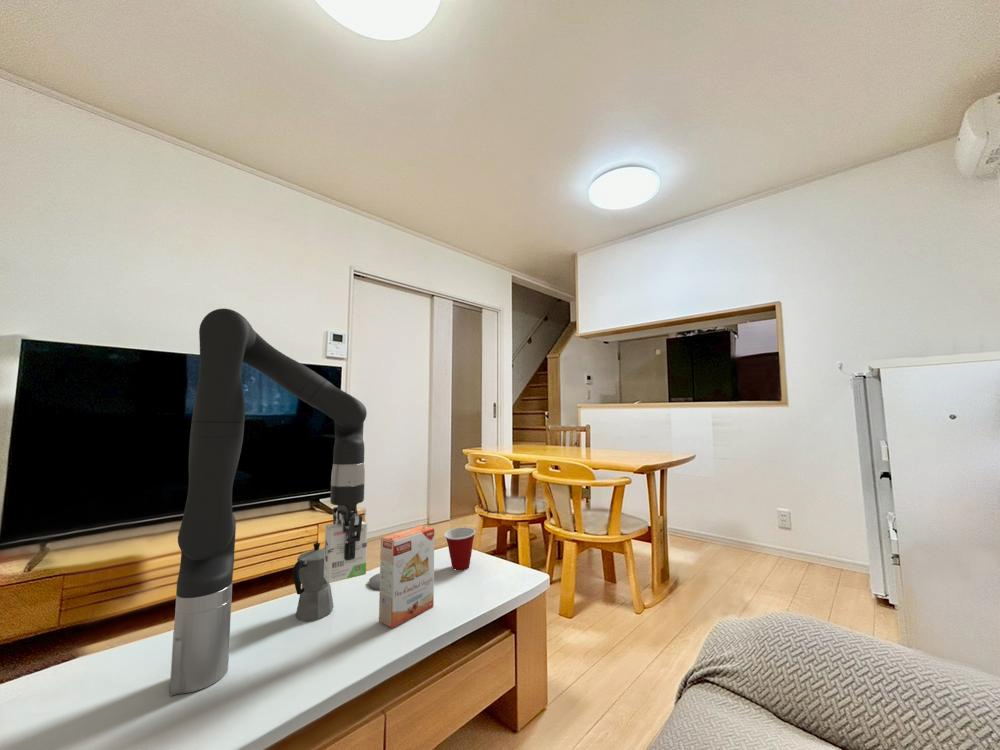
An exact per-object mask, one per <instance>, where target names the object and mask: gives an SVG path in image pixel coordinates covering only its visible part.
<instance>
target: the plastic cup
mask: <svg viewBox="0 0 1000 750" xmlns="http://www.w3.org/2000/svg"><path fill="white" fill-rule="evenodd" d="M443 534H444V537H445V540H446V542H447V546H448V553H449V558H450V561H451V562H450V563H451V567H453V568H452V569H453V570H454V569H456V570H455V571H457V570H462V571H465V570H464V569H466V570H468V569H469V568H470V564H471V557H472V553H473V544H474V538H475V534H476V529H475V528H473V527H468V526H467V527H466V526H462V527H461V526H460V527H455V528H450V529H449V530H447V531H445V532H444V533H443ZM467 568H468V569H467Z"/></svg>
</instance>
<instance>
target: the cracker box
mask: <svg viewBox="0 0 1000 750" xmlns="http://www.w3.org/2000/svg"><path fill="white" fill-rule="evenodd" d="M379 558H380V562H379V563H380V564H379V573H380V590H379V602H378V603H379V607H378V610H379V611H378V612H379V613H378V623H382V624H383V625H385V626H386V627H389V628H391V629H393V628H396V627H397V626H399V625H401V624H403V623H404V622H406V621H408V620H411V619H413V618H414V617H416V616H418V615H420V614H422V613H423V612H425V611H427V610H429V609H431V608H433V607H434V603H435V601H434V595H435V594H434V591H435V588H434V585H435V584H434V582H435V576H434V575H435V528H434V527H430V526H425V525H418V526H415V527H411V528H409V529H404V530H401V531H398V532H394V533H391V534H388V535H385V536H381V537H380V557H379Z"/></svg>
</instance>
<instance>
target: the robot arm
mask: <svg viewBox="0 0 1000 750" xmlns="http://www.w3.org/2000/svg"><path fill="white" fill-rule="evenodd" d="M198 329H199V330H198V334H199V335H198V336H199V337H198V338H199V374H198V379H197V380H198V382H197V386H196V391H195V399H194V404H193V412H192V416H191V422H190V423H191V425H190V432H189V433H190V434H189V446H188V448H189V449H188V489H187V490H188V491H187V497H186V501H185V505H184V512H183V517H182V520H181V523H180V528H179V529H178V530H179V531H178V534H177V544H178V547H179V549H180V551H181V553H180V565H179V571H178V576H177V580H176V581H177V582H176V593H175V595H176V596H175V609H174V610H175V611H174V612H175V613H174V624H173V626H174V627H173V633H172V634H173V635H172V645H171V646H172V650H171V660H170V661H171V663H170V664H171V666H170V681H169V686H170V687H169V696H170V697H171V696H174V695H177V694H178V695H179V694H188V693H193V692H197V691H200V690H202V689H205V688H207V687H210V686H212V685H213V684H215V683H217V682H218V681H220V680H221V679H223V677H224V676H225V675H226V674H227V673H228V671H229V661H230V660H229V658H230V656H229V655H230V654H229V653H230V639H231V638H230V635H231V634H230V633H231V615H232V597H233V596H232V595H233V578H234V564H235V547H236V546H235V545H236V529H237V525H236V524H237V522H236V517H235V515H234V513H233V487H234V481H235V476H236V473H237V469H238V467H239V461H240V456H241V453H242V447H243V442H244V433H245V432H244V430H245V421H246V409H245V408H246V407H245V397H244V391H243V390H244V389H243V383H242V372H243V369H242V368H243V363H244V364H246V365H248V366H250V367H252V368H253V369H255V370H257V371H258V372H260V373H262V374H263V375H265V376H266V377H268V378H269V379H271V380H272V381H273V382H275V383H276V384H278V385H279V386H281V388H283V389H285V390H286V391H287V392H289V393H291V394H292V395H293V396H294V397H296V398H297V399H299V400H301V401H302V402H304V403H306V404H307V405H309V406H310V407H312V408H315V409H316V410H319V411H320V412H322V413H324V414H325V415H326V416H327V417H328V418H330V419H332V420H333V421H334V444H333V445H334V446H333V452H332V453H333V454H332V455H333V458H332V469H331V476H330V478H331V479H330V500H329V501H330V504H331V505H332V506H333V505H334V506H335V507H333V508H332V522H333V523H332V525H333V524H339V523H340V524H341V527H342V533H344V538H345V551H344V559H345V560H346V561H348V560H352V559H354V558H355V542H357V541H360V535H361V526H362V521H363V515H362V514H360V515H359V511H358V507H357V505H358V504H361V503H362V502H364V500H365V481H366V480H365V475H366V471H365V443H364V422H365V420H366V418H367V414H368V413H367V408H366V405H364V403H363V402H362V401H360V400H359V399H357V398H356V397H355V396H352V395H351V394H349V393H348V392H347V391H344V390H342V389H340V388H338V387H337V386H335V385H334V384H333V383H331V382H330V381H329V380H328V379H326V378H325V377H323V376H322V375H320V374H318V372H316V371H314V370H312V369H311V368H309V367H307V366H306V365H304V364H302V363H300V362H299V361H297V360H296V359H293V358H291V357H289V356H287V355H286V354H284V353H282V352H281V351H279V350H278V349H276V348H275V347H274V346H272V345H271V344H270V343H269V342H267V341H266V340H265V339H264V338H263V337H262V336H261V335H260V334H259V333H257V332H256V331H255V329H253V326H252V325H251V324H250V321H248V320H247V319H246V317H245V316H243V315H242V314H241V313H239V312H237V311H235V310H234V309H231V308H218V309H214V310H211V311H210V312H208V313H207V314H206V315H205V316H204V317H203V319H202V321H201V323H200V325H199V328H198ZM345 526H349V529H346V527H345ZM352 533H353V536H352Z"/></svg>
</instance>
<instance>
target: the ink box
mask: <svg viewBox="0 0 1000 750" xmlns="http://www.w3.org/2000/svg"><path fill="white" fill-rule="evenodd" d="M345 527H346V529H349V526H345ZM324 534H325V535H324V548H325V556H324V576H323V577H324V578H325V579H326V581H327V582H328V583H329V584H332V583H337V582H339V581H343V580H347V579H352V578H357V577H360V576H365V575H366V574H367V552H368V551H367V546H368V545H367V544H368V543H367V542H368V523H366V522H365V521H363V520H362V526H361V535H360V541H357V542H355V558H354V559H352V560H348V561H346V560H345V559H344V551H345V538H344V533H342V527H341V524H340V523H339V524H333V523H332V524H327V525H325V533H324ZM352 536H353V533H352Z"/></svg>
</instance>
